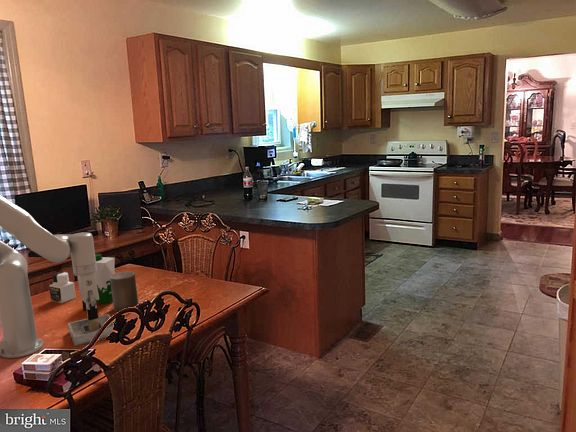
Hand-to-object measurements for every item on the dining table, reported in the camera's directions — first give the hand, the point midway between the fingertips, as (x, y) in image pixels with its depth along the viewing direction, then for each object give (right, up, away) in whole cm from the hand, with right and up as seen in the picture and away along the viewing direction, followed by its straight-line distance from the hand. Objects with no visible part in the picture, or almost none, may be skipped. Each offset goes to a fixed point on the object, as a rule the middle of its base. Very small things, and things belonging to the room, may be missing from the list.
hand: (90, 314), depth 163 cm
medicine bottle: (-27, -1, +37) cm, 46 cm away
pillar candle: (+3, -3, +26) cm, 26 cm away
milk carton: (-8, -1, +34) cm, 35 cm away
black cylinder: (+1, -7, +1) cm, 7 cm away
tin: (0, -7, +1) cm, 7 cm away
